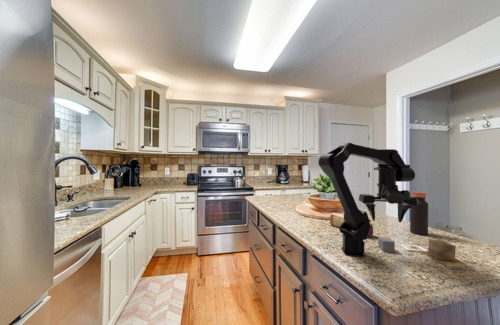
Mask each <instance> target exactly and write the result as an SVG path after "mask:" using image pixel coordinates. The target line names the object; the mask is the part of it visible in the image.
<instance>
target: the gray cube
mask: <svg viewBox="0 0 500 325" xmlns="http://www.w3.org/2000/svg"><path fill="white" fill-rule="evenodd" d="M395 243H396V242H395V241H394V240H393V239H391V238H390V237H378V244H377V245H378V246H377V247H378V248H379V249H380V250H381V251H382V252H389V253H396V252H395V250H396V248H395V247H396V246H395Z"/></svg>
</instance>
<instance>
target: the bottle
mask: <svg viewBox="0 0 500 325" xmlns="http://www.w3.org/2000/svg"><path fill="white" fill-rule="evenodd" d="M412 197H415V198H416V199H417V200H418V205H412V206H414V207H411V208H409V212H410V214H409V231H410V233H412V234H414V235H418V236H428V235H429V203H428V202H427V201H426V197H427V193H426V192H424V191H423V192H422V191H412Z"/></svg>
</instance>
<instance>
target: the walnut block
mask: <svg viewBox="0 0 500 325" xmlns="http://www.w3.org/2000/svg"><path fill="white" fill-rule="evenodd" d="M427 245H428V246H427V247H428V248H427V249H428V250H427V251H428V253H429V254H431V255H432V256H434V257H435V258H437V259H441V260H450V261H455V259H456V248H457V247H456V245H454V244H452V243H449V242H448V241H446V240H440V239H430V238H429V239H428V244H427Z"/></svg>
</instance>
